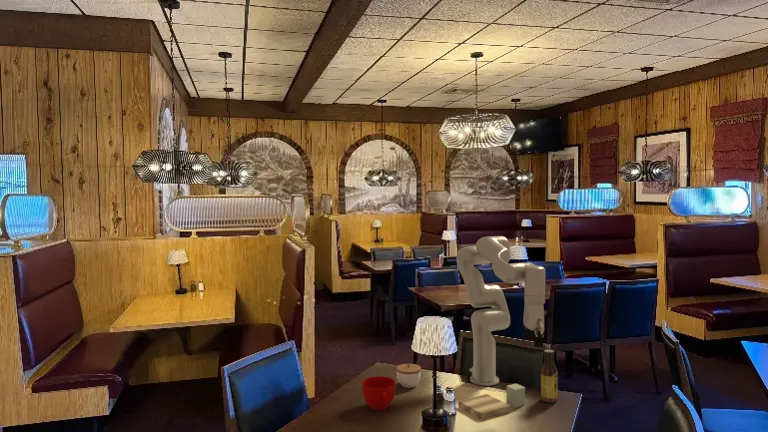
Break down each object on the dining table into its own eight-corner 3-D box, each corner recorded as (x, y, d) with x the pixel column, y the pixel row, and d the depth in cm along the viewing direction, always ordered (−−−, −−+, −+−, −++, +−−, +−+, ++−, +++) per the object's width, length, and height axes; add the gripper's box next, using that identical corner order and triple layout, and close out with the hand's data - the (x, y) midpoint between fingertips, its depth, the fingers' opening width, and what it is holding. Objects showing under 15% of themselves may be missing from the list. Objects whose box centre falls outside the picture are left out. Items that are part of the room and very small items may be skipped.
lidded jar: (423, 382, 241) (423, 360, 240) (418, 390, 231) (418, 368, 230) (399, 379, 244) (399, 359, 243) (393, 388, 234) (393, 366, 233)
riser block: (458, 408, 213) (458, 400, 213) (486, 401, 220) (486, 393, 220) (482, 421, 201) (482, 413, 201) (511, 413, 208) (510, 405, 208)
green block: (506, 403, 217) (506, 385, 216) (516, 400, 219) (516, 383, 219) (515, 407, 212) (515, 389, 212) (525, 404, 215) (525, 387, 214)
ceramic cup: (369, 420, 202) (368, 393, 202) (359, 402, 218) (358, 378, 218) (402, 415, 206) (402, 389, 205) (390, 399, 222) (390, 374, 221)
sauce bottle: (558, 403, 215) (558, 353, 214) (541, 402, 216) (541, 353, 215) (556, 397, 222) (556, 349, 220) (540, 396, 223) (540, 348, 222)
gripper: (517, 294, 216) (516, 336, 217) (533, 304, 199) (532, 350, 200) (535, 293, 217) (535, 336, 218) (553, 303, 200) (552, 349, 201)
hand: (533, 343), depth 209 cm, fingers open, 9 cm apart
